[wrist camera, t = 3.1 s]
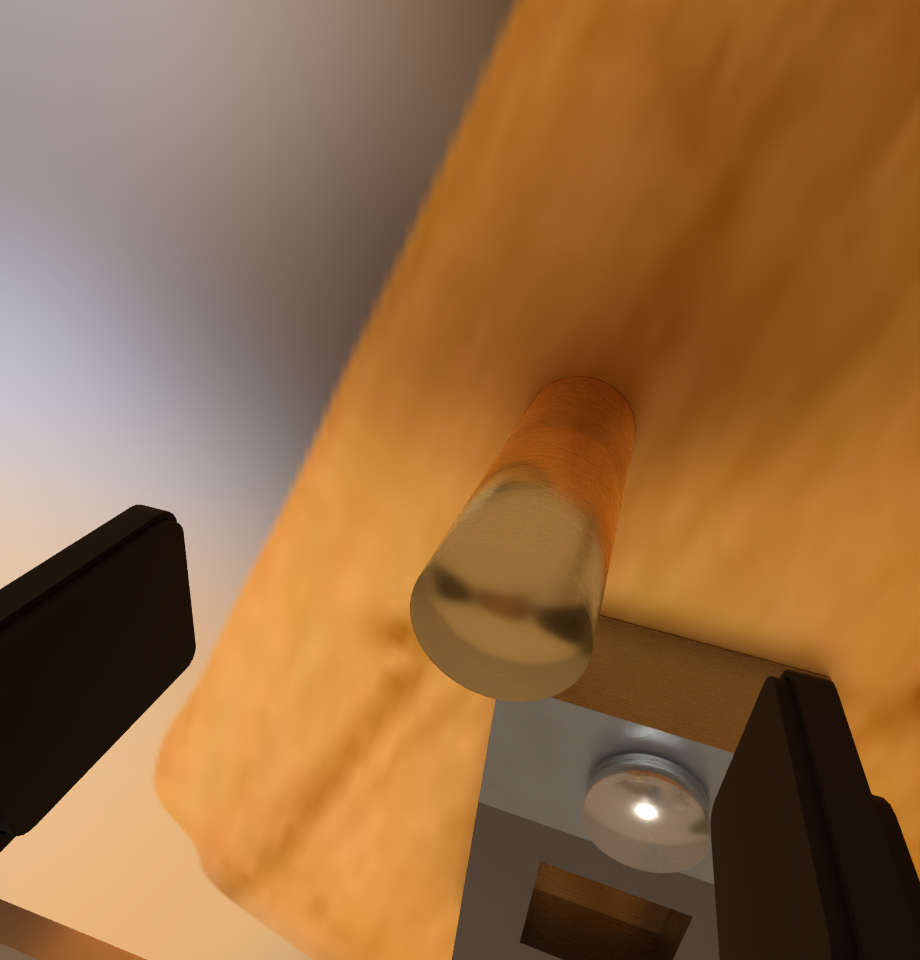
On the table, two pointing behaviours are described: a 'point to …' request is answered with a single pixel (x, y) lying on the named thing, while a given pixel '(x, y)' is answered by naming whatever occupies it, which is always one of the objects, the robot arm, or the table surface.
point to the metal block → (608, 805)
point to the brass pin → (531, 550)
